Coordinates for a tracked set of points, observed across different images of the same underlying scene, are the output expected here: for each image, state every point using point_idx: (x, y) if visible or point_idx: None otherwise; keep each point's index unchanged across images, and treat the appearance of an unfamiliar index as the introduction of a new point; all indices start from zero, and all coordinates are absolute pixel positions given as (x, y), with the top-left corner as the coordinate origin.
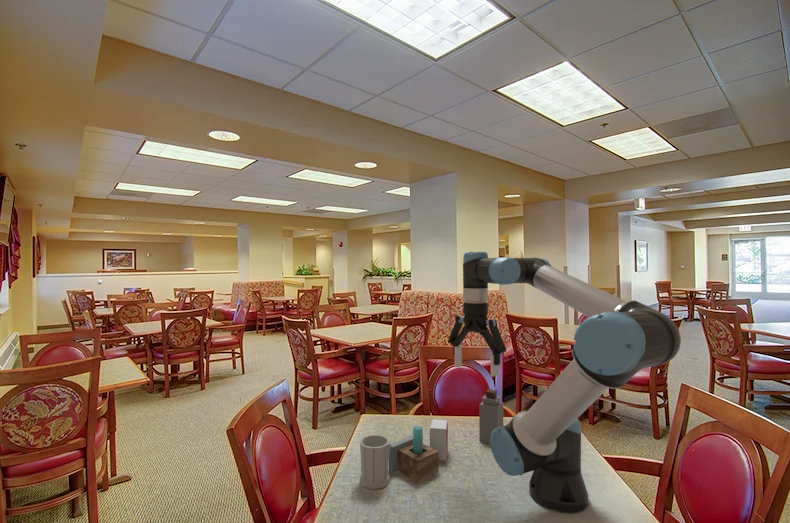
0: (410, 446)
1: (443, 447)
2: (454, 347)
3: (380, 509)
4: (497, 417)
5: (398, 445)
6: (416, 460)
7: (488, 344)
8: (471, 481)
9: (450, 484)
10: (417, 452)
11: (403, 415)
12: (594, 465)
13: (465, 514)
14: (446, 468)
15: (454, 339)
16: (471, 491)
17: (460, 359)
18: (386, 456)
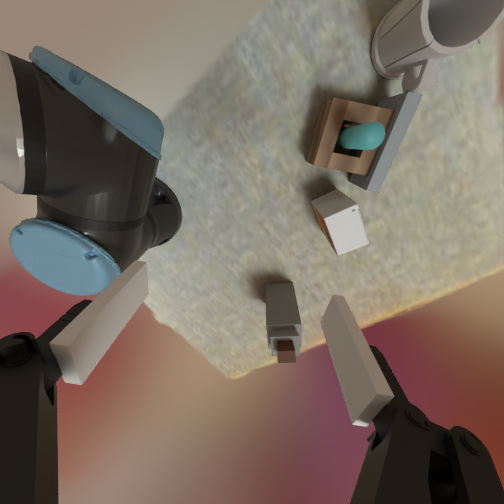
0: None
1: (319, 204)
2: (394, 395)
3: None
4: (266, 312)
5: (398, 112)
6: (337, 98)
7: (26, 429)
8: (251, 171)
9: (273, 140)
10: (348, 127)
11: (441, 293)
12: (153, 300)
13: (213, 72)
14: (300, 181)
15: (436, 478)
16: (237, 144)
17: (332, 341)
18: (404, 21)
